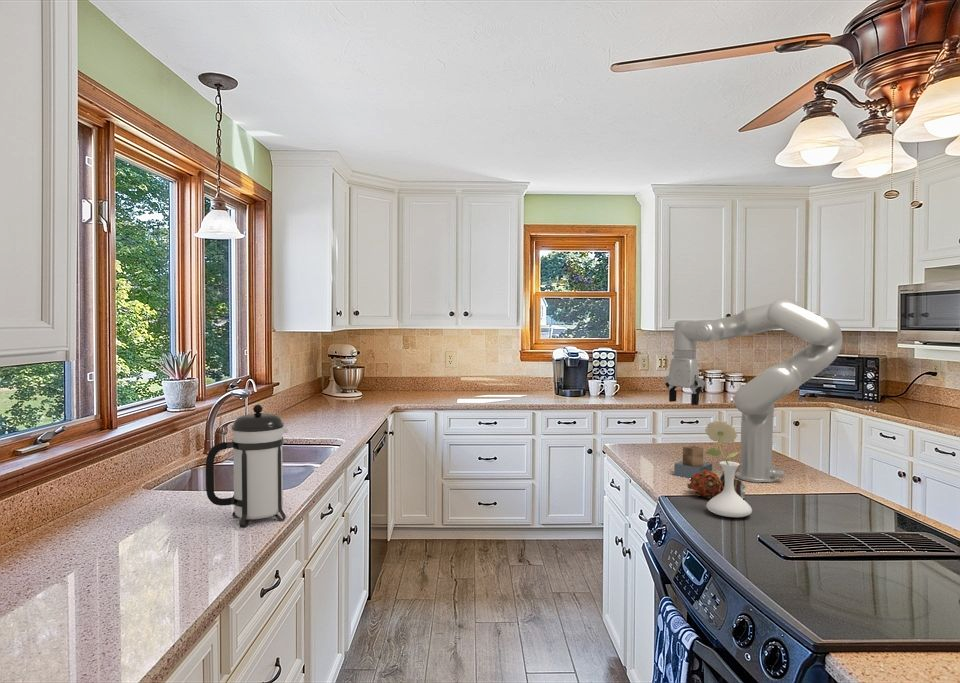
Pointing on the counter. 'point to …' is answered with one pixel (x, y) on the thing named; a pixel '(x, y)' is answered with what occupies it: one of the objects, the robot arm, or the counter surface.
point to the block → (693, 455)
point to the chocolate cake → (735, 486)
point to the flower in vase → (726, 474)
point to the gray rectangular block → (690, 469)
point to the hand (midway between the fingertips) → (683, 403)
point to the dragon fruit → (706, 484)
